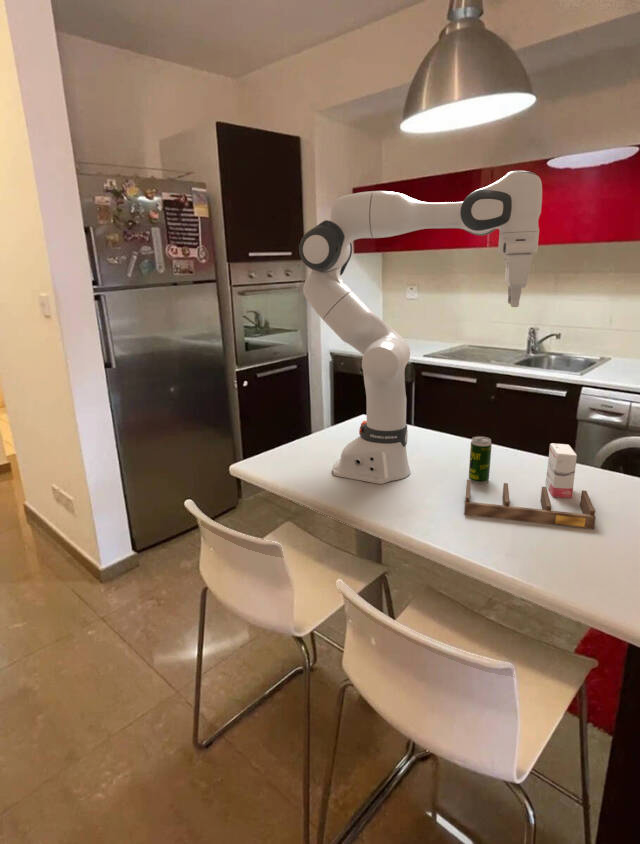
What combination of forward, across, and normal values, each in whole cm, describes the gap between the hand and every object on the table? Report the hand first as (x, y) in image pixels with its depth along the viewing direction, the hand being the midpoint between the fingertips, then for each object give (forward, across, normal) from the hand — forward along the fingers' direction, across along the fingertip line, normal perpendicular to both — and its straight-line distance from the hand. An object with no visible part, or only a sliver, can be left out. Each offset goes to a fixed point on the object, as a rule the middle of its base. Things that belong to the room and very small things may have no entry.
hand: (512, 305), depth 126 cm
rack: (+47, +15, +5) cm, 50 cm away
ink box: (+48, +3, +15) cm, 50 cm away
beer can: (+48, 0, -5) cm, 48 cm away
